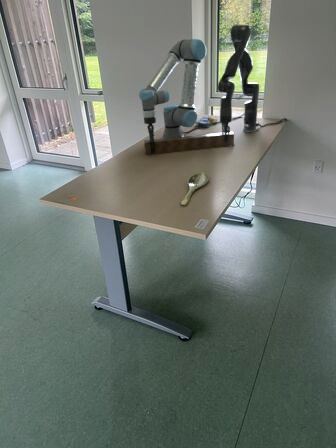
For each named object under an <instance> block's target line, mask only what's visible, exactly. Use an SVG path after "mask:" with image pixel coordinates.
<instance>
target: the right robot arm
mask: <svg viewBox="0 0 336 448" xmlns="http://www.w3.org/2000/svg"><path fill="white" fill-rule="evenodd" d="M251 35H252V28H251V26H250V25H248V24H235V25H232V27H231V29H230V40H231V43H232V46H233V47H232V48H233V49H234V53H233V54H231V56H230V57H229V59H228V60H227V62H226V65H225V69H224V72H223V74H222V76H221V78H220V79H219V82H218V84H217V91H218V92H219V93H220V94H225V96H223V97H221V98H220V106H219V107H220V109H219V122H221V133H225V142H228V136H229V135H230V132H231V127H230V123H232V121H233V120H232V118H233V114H232V113H233V108H232V102H233V101H232V100H233V97H234V93H235V89H236V85H235V83H234V81H232V79H234V78H235V77H236V75H237V71H238V72H239V76H240V82H241V92H242V95H243V96H244V97H245V98H251V99H250V100H248V101H246V102H244V103H243V105H244V106H243V114H244V115H243V132H245V133H253V132H256V131H257V127H260V128H264V127H266V126H269V125H277V124H279V123H280V122H283V121H284V120H285V121H288V120H287V118H286V117H284V118H282V119H279V120H278V121H276V122H269V123H265V124H263V125H261V124H260V122H258V121H257V120H258V105H259V95H260V84H259V83H258V82H249V80H248V79H249V77H250V75H251V73H252V72H253V69H254V64H253V58H252V56H251V54H250V52H249V51H248V50H247V49H246V48H247V46H248V44H249V41H250V38H251ZM227 133H228V134H227Z"/></svg>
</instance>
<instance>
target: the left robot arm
mask: <svg viewBox="0 0 336 448" xmlns="http://www.w3.org/2000/svg"><path fill="white" fill-rule="evenodd" d="M206 55H207V46H206V44H205V42H204V41H203V40H202V39H199V38H193V39H192V38H191V39H190V38H189V39H181V40H179V41H178V42H176V43H175V44H174V45H173V46H172V48H170V50H169V51H168V53H167V57H166V58H165V60H164V61H163V63H162V64H161V66H160V67H159V69H158V70H157V71H156V73H155V74H154V75H153V77H152V79H150V82H149V83H148V85H147V86H146V88H143V89H141V90H140V91H139V93H138V97H139V100H140V101H141V106H142V115H143V124H145V125H147V130H148V131H147V132H148V136H149V140H150V142H149V143H150V146H151V153H154V152H155V143H154V140H155V134H154V133H155V131H154V130H155V127H154V124H156V122H157V118H156V112H157V110H156V108H155V106H157V105H162V104H166V103H168V102H169V101H170V93H169V91H168V90H167V89H164V90H163V89H161V88H162V86H163V85H164V83H166V81H167V79H168V78H169V76H170V74H172V72H173V71H174V69H175V67H176V66H177V65H179V64H180V63H181V62H183V63H184V73H183V81H182V89H181V98H180V103H179V104H172V105H166V106H165V107H163V113H162V114H163V123H164V130H163V135H162V139H165V138H175V137H185V136H184V134H190V133H191V132H193V131H195V130H198V129H202V128H204V127H203V126H197V127H195V128H192V127H193V126H194V125H196V122H197V121H198V113H197V111H196V106H195V105H194V101H195V95H196V86H197V78H198V71H199V66H200V65H201V64H202V60H204V59H205V58H206ZM160 89H161V90H160ZM242 117H244V113H242V114H241V115H239V116H236V117H232V121H233V120H236V119H240V118H242ZM210 123H211V122H210ZM220 123H221V122H220V121H217V122H215V123H211V125H210V126H212V125H217V124H220ZM221 124H222V123H221ZM182 128H192V129H190V130H188V131H183V129H182ZM152 140H153V141H152Z"/></svg>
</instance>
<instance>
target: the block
mask: <svg viewBox="0 0 336 448" xmlns="http://www.w3.org/2000/svg"><path fill="white" fill-rule="evenodd" d="M227 134H228V133H227ZM152 141H153V140H152ZM149 142H150V139H146V140H144V143H143V144H144V151H145V155H146V156H148V155H159V154H167V153H178V152H187V151H197V150H198V151H199V150H207V149H216V148H224V147H225V148H226V147H234V146H235V133H234V132H233V131H230V135H229V136H228V142H225V133H222V132H216V133H215V132H214V133H205V134H196V135H195V134H194V135H186V136H184V137H175V138H165V139H163V138H158V139H156V138H155V139H154V143H155V152H154V153H151V146H150V143H149Z"/></svg>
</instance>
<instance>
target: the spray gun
mask: <svg viewBox="0 0 336 448" xmlns="http://www.w3.org/2000/svg"><path fill="white" fill-rule="evenodd" d="M215 122H218V119H217V118H216V117H214V116H213V117H212V116H211V117H210V116H208V115H207V116H201V118H200V119H197V121H196V123H195V126H197V127H200V126H203V127H202V128H207V127H210V126H212V125H211V123H215Z"/></svg>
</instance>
